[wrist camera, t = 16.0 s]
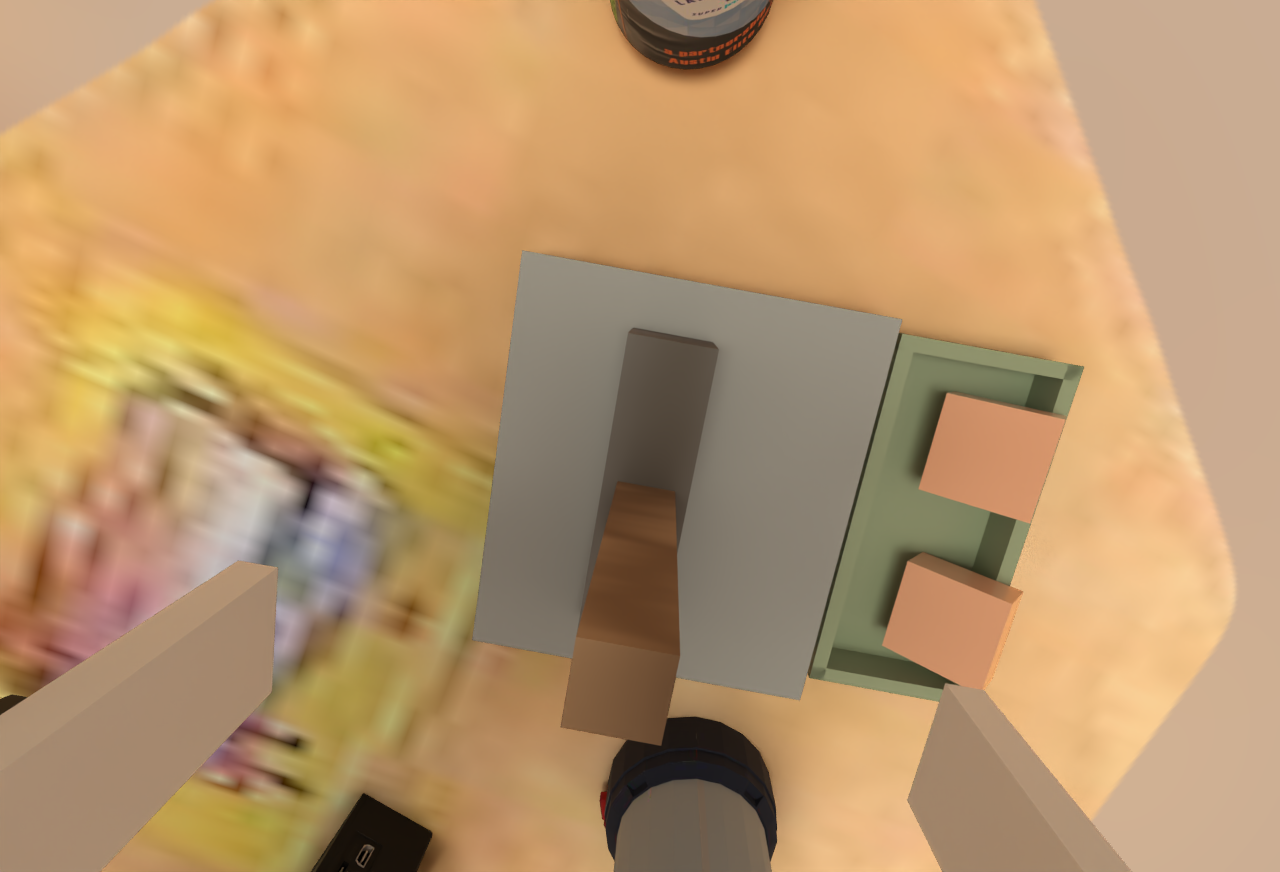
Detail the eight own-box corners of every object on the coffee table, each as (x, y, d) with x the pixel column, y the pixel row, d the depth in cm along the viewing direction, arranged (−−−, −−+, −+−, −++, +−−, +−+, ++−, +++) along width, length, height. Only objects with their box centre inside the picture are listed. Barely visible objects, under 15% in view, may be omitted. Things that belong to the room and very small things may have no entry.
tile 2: (1030, 523, 24) (1033, 513, 25) (1065, 419, 23) (1066, 416, 24) (918, 489, 26) (928, 481, 27) (946, 392, 25) (955, 391, 26)
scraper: (583, 616, 26) (503, 922, 14) (632, 327, 23) (591, 372, 11) (654, 629, 26) (641, 947, 14) (713, 341, 23) (764, 403, 11)
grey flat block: (494, 600, 30) (472, 640, 27) (541, 255, 26) (522, 250, 23) (785, 653, 30) (800, 700, 27) (872, 315, 26) (902, 319, 23)
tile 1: (980, 695, 25) (992, 678, 26) (1012, 604, 24) (1023, 591, 26) (881, 645, 27) (898, 632, 29) (907, 561, 26) (923, 551, 28)
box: (798, 646, 30) (809, 678, 28) (880, 329, 27) (902, 333, 24) (944, 673, 30) (968, 706, 28) (1046, 359, 26) (1084, 366, 24)
